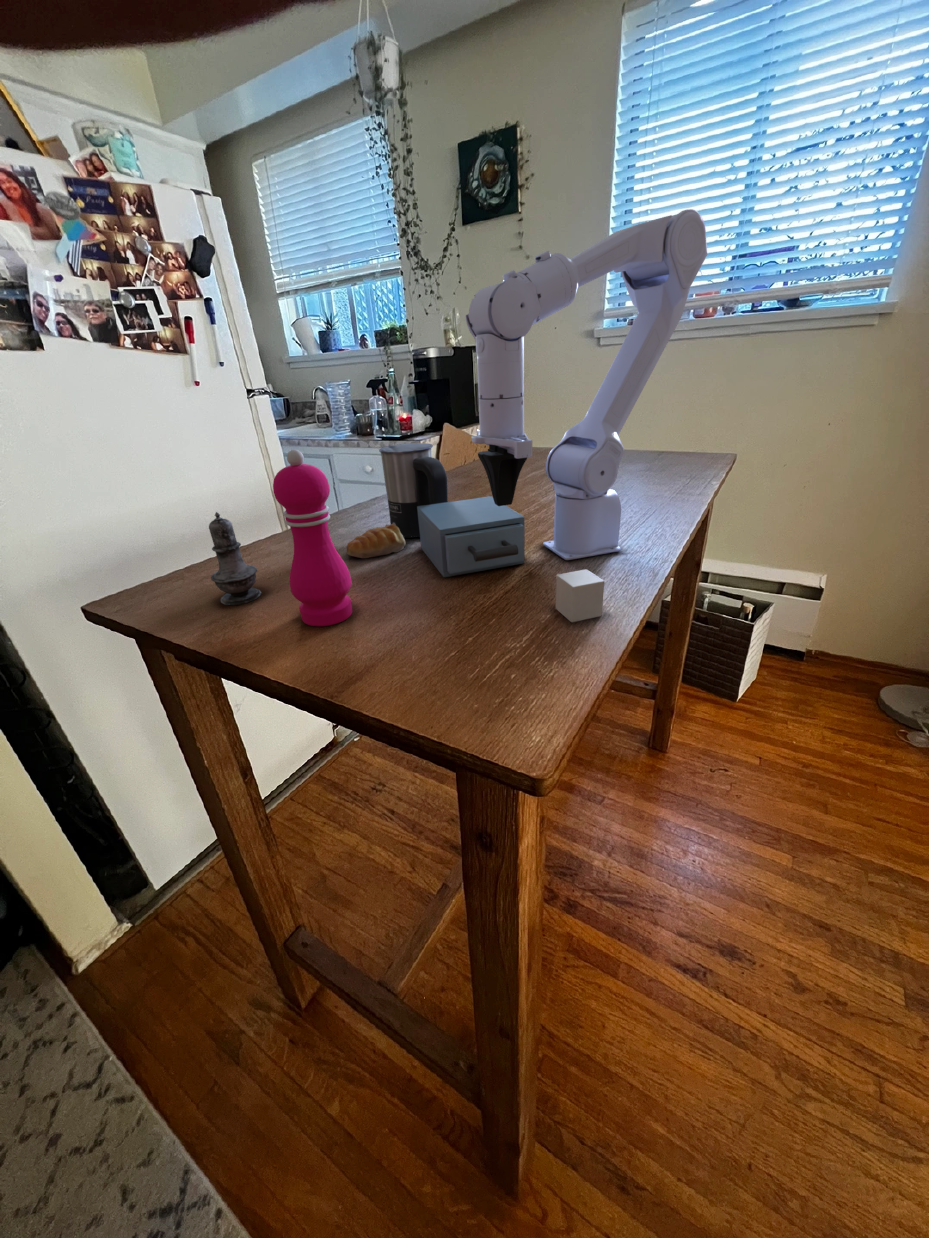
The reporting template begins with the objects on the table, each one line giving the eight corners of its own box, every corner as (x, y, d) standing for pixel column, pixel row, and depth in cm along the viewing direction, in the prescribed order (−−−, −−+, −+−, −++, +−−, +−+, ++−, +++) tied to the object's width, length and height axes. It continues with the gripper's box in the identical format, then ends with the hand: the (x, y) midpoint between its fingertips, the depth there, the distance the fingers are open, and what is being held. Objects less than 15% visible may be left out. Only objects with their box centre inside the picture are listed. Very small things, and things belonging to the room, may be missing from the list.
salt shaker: (219, 610, 66) (191, 521, 61) (216, 594, 71) (190, 511, 65) (266, 599, 68) (243, 513, 63) (260, 584, 73) (238, 503, 68)
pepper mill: (327, 634, 59) (289, 457, 49) (285, 621, 62) (243, 454, 53) (368, 609, 64) (342, 445, 55) (328, 598, 67) (296, 443, 58)
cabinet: (524, 563, 75) (524, 516, 71) (443, 577, 72) (439, 529, 68) (492, 537, 86) (490, 496, 83) (421, 548, 83) (416, 506, 80)
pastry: (359, 564, 78) (355, 540, 77) (339, 554, 83) (335, 532, 81) (409, 549, 83) (407, 526, 82) (388, 540, 88) (385, 519, 86)
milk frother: (379, 535, 91) (367, 450, 84) (429, 512, 102) (422, 435, 96) (444, 545, 84) (437, 453, 77) (490, 519, 96) (487, 438, 89)
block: (584, 602, 62) (586, 568, 60) (601, 616, 59) (604, 580, 57) (555, 608, 61) (556, 574, 59) (571, 622, 58) (573, 587, 56)
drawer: (536, 570, 70) (537, 534, 67) (458, 585, 67) (456, 547, 64) (493, 536, 84) (492, 505, 81) (427, 547, 81) (424, 514, 78)
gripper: (454, 397, 68) (460, 496, 75) (491, 403, 56) (495, 522, 62) (502, 393, 70) (504, 490, 76) (549, 398, 58) (546, 514, 64)
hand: (503, 504), depth 69 cm, fingers closed
